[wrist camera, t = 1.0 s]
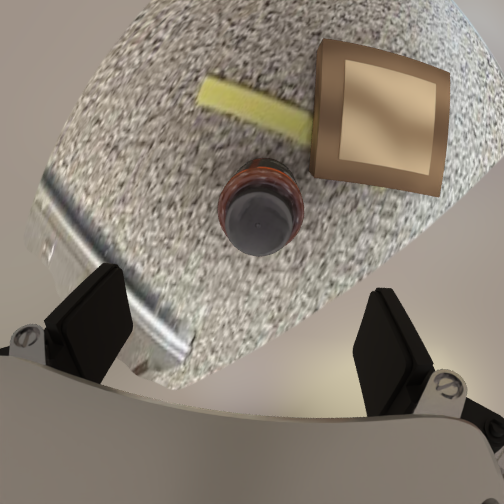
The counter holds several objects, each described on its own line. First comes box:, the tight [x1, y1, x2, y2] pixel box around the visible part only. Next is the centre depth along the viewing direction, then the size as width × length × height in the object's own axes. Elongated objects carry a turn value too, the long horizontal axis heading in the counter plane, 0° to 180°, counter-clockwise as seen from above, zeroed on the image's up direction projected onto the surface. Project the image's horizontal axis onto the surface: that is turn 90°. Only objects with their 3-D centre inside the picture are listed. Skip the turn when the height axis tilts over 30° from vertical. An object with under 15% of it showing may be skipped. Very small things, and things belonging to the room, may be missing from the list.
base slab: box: [309, 38, 450, 197], centre depth 21 cm, size 12×12×4 cm
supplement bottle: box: [218, 158, 304, 256], centre depth 22 cm, size 6×6×11 cm
